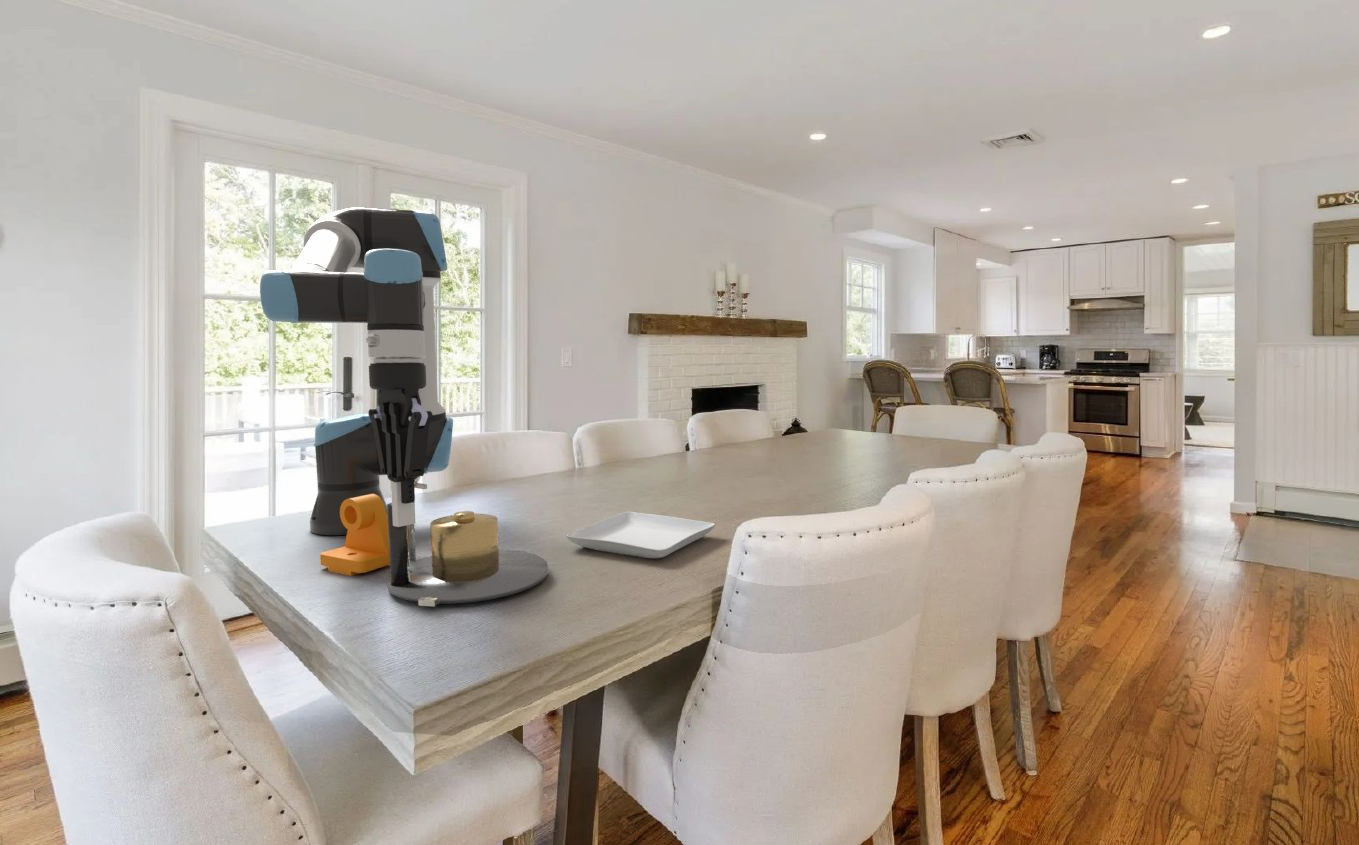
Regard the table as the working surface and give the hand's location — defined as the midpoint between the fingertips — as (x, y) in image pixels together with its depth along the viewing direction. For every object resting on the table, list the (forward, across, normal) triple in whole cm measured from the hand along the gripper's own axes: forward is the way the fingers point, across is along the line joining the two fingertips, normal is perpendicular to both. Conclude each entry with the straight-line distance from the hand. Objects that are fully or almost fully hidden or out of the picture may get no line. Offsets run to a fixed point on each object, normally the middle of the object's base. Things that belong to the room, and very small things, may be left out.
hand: (404, 524), depth 100 cm
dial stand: (+11, -14, +10) cm, 20 cm away
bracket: (+11, -21, +4) cm, 24 cm away
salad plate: (+11, +8, +44) cm, 46 cm away
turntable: (+11, +1, +10) cm, 15 cm away
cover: (+9, +1, +10) cm, 13 cm away
